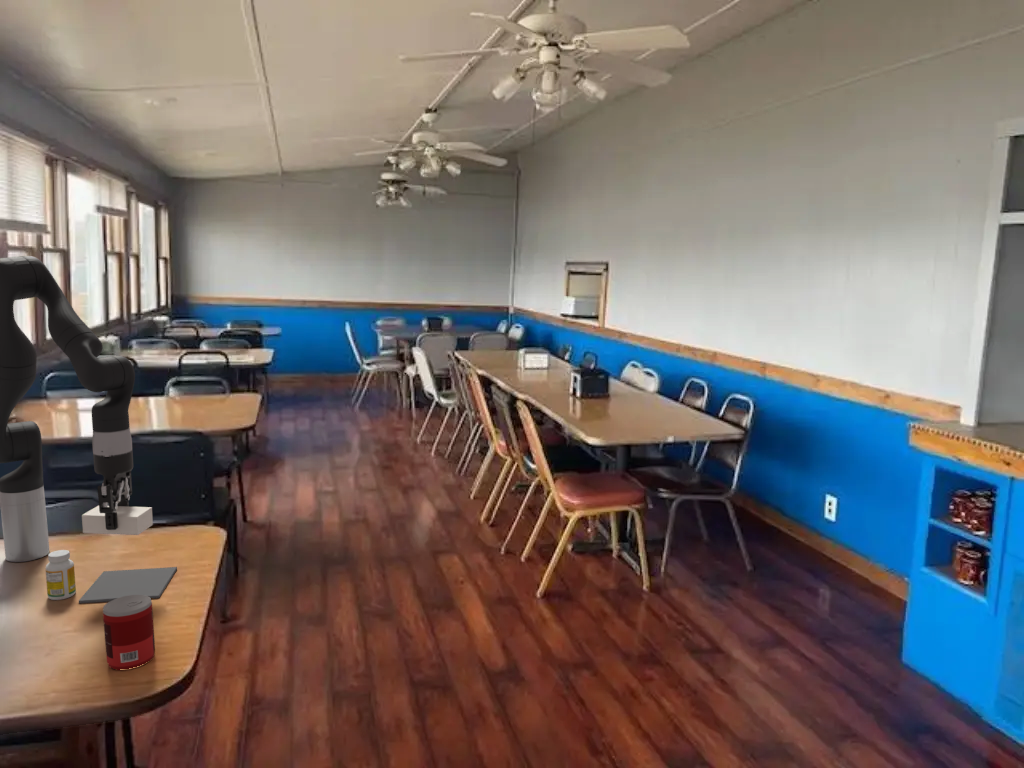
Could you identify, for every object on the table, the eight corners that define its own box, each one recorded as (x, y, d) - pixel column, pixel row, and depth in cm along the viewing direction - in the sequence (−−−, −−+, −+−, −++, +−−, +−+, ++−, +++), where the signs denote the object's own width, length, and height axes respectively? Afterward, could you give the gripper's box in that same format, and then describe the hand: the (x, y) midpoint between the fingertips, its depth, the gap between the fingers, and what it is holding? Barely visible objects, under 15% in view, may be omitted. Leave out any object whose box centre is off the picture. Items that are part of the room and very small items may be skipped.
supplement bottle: (53, 602, 164) (49, 559, 162) (43, 595, 167) (39, 553, 166) (80, 594, 168) (76, 552, 166) (70, 588, 171) (67, 546, 170)
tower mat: (103, 573, 179) (103, 571, 179) (177, 569, 182) (176, 566, 182) (78, 603, 164) (78, 600, 164) (159, 598, 167) (158, 595, 166)
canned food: (164, 655, 143) (161, 598, 141) (127, 675, 136) (122, 616, 134) (135, 646, 146) (131, 591, 144) (97, 665, 139) (92, 608, 137)
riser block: (99, 522, 172) (98, 505, 171) (152, 524, 171) (151, 507, 171) (83, 532, 166) (81, 515, 165) (138, 535, 165) (136, 517, 164)
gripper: (105, 442, 172) (110, 513, 175) (81, 458, 158) (87, 535, 161) (141, 441, 173) (146, 511, 176) (120, 457, 159) (125, 534, 162)
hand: (118, 523), depth 168 cm, fingers closed on riser block, 7 cm apart
